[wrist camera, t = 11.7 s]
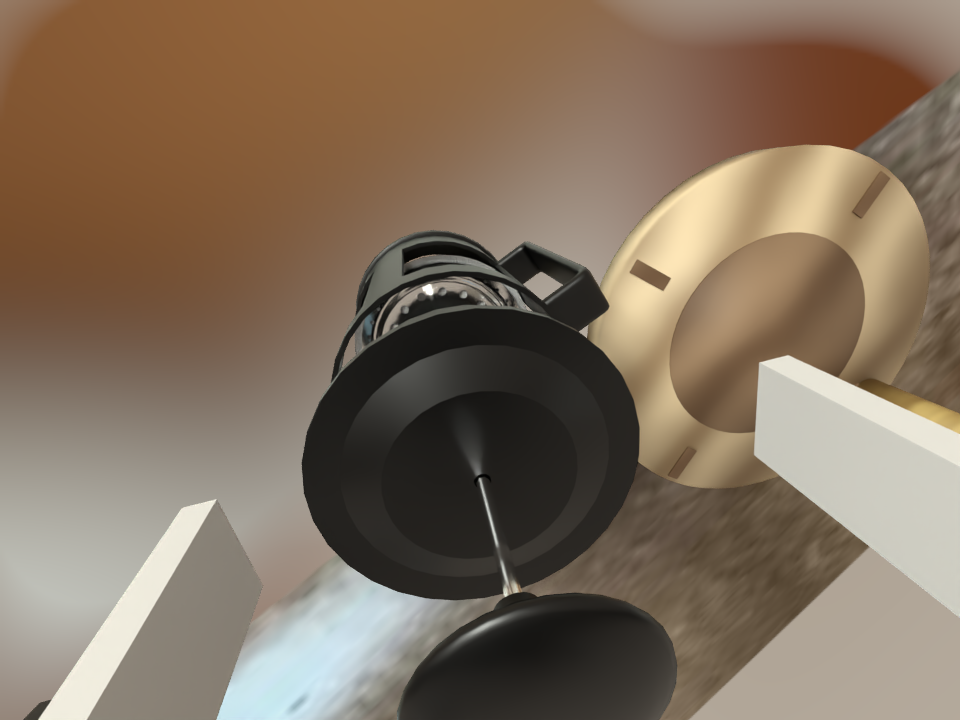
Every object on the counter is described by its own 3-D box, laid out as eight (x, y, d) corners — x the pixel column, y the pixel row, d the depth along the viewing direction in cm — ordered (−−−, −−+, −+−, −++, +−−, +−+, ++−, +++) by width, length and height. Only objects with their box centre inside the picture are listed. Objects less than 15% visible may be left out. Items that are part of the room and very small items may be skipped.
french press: (414, 413, 30) (443, 983, 8) (313, 302, 26) (-72, 807, 5) (561, 307, 29) (1012, 655, 7) (477, 176, 25) (882, 131, 4)
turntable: (524, 412, 29) (572, 501, 21) (722, 67, 24) (892, 4, 16) (760, 505, 36) (867, 602, 28) (959, 251, 30) (1169, 277, 22)
